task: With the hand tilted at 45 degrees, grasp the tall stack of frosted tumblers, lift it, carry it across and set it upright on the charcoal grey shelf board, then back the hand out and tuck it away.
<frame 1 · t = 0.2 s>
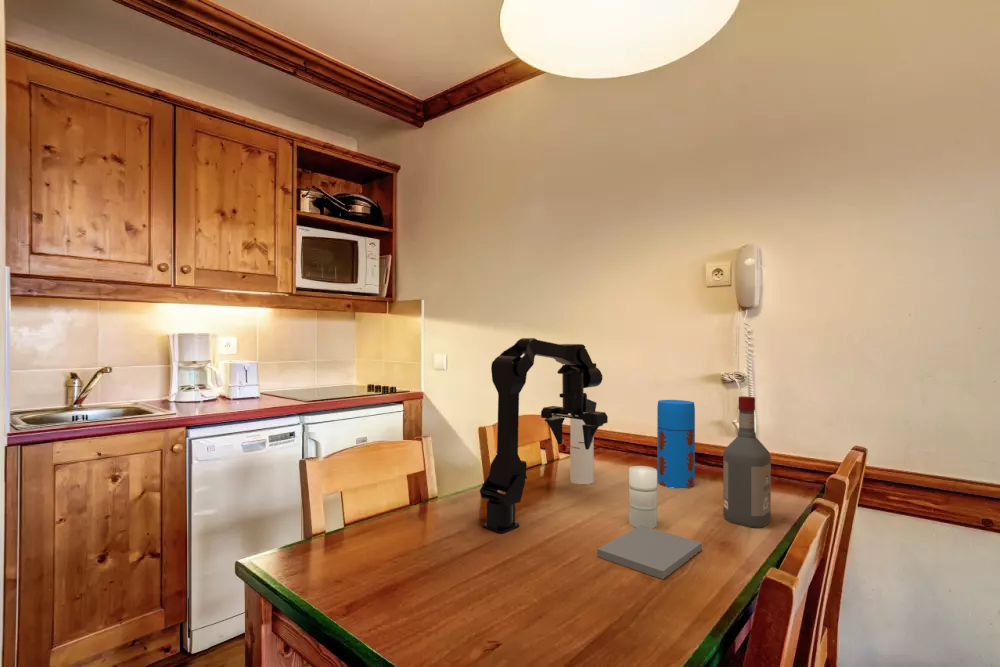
hand: (573, 446, 137), 15 cm above the table, tool pointing down, fingers open, 9 cm apart
liquor: (746, 521, 122), on the table
tumbler stack: (642, 524, 119), on the table
thermos: (675, 484, 153), on the table
cylindrical container: (581, 481, 155), on the table
shelf board: (650, 553, 103), on the table
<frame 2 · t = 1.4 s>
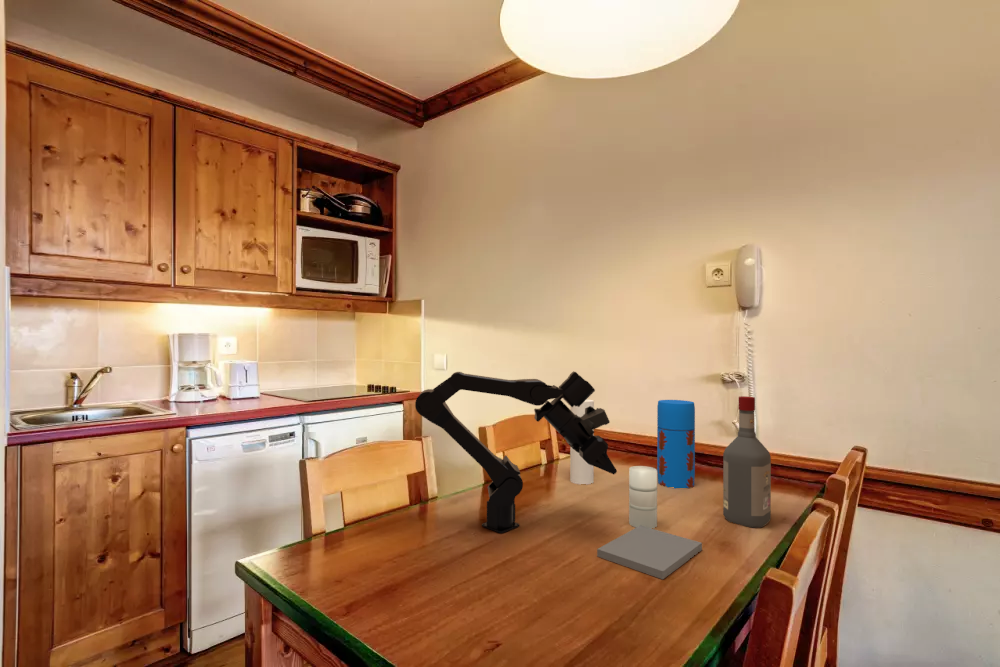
hand: (609, 467, 119), 13 cm above the table, tool tilted 45°, fingers open, 9 cm apart
nothing on the table moved.
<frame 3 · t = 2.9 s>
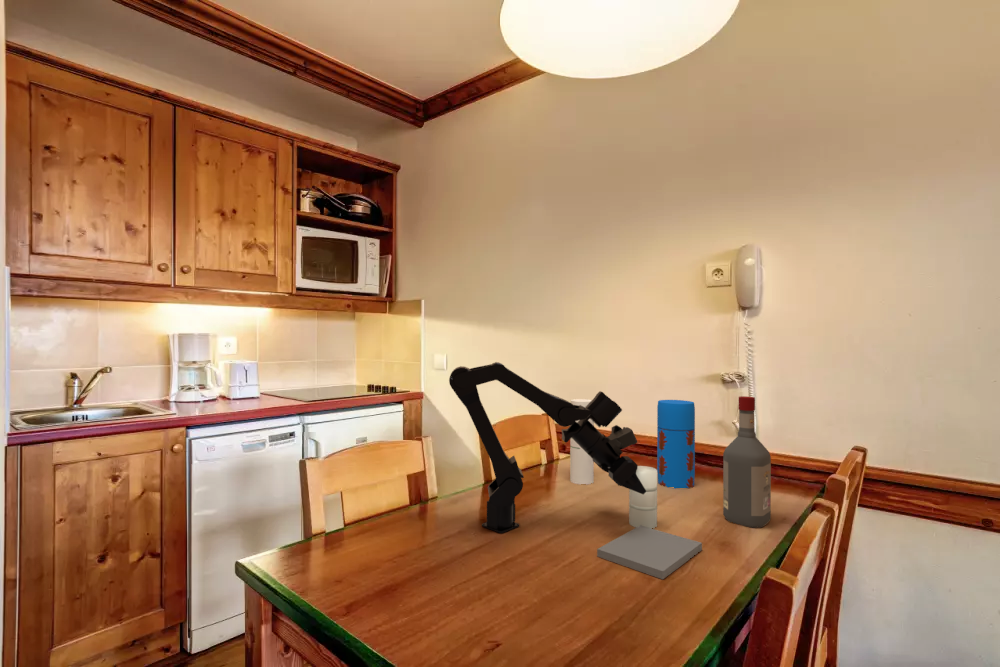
hand: (637, 486, 119), 9 cm above the table, tool tilted 45°, fingers open, 9 cm apart
nothing on the table moved.
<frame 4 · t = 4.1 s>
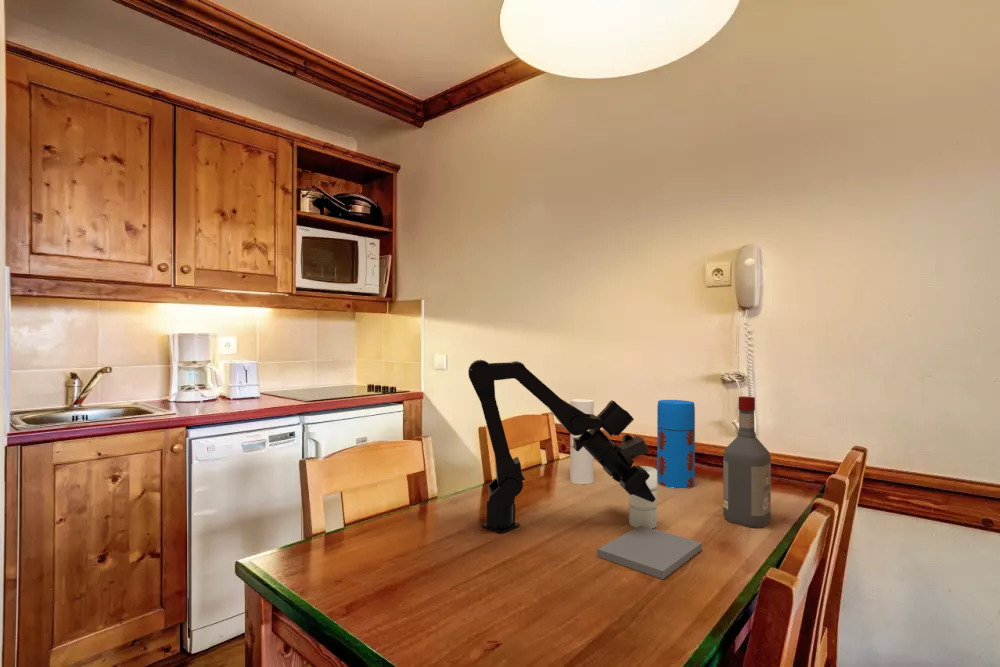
hand: (648, 496, 119), 7 cm above the table, tool tilted 45°, fingers closed on tumbler stack, 6 cm apart
tumbler stack: (642, 524, 119), on the table, touching gripper
everything else where it was.
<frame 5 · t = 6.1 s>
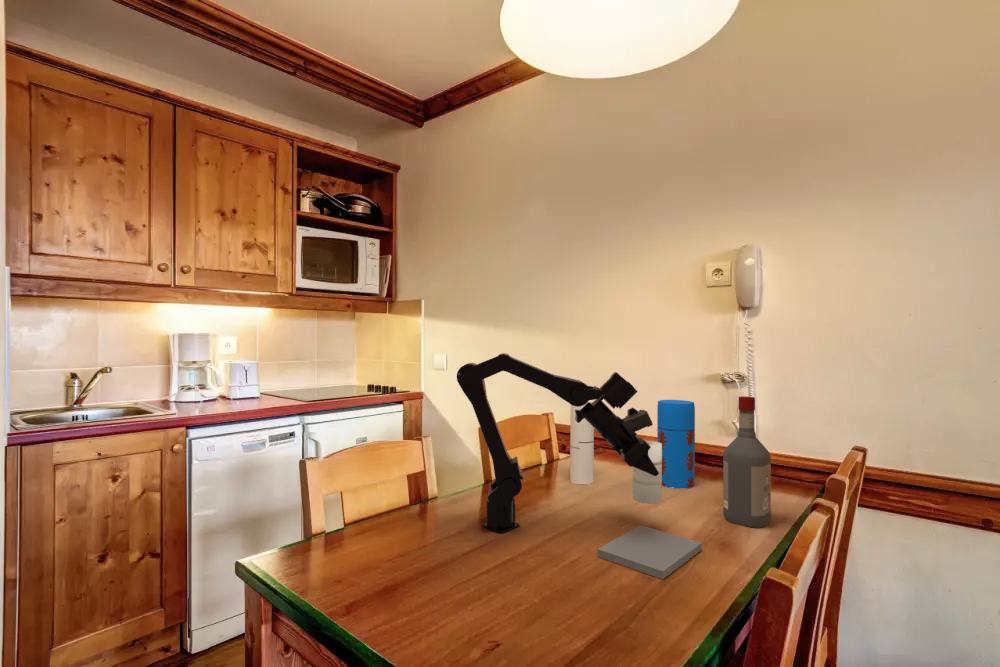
hand: (653, 470, 116), 13 cm above the table, tool tilted 45°, fingers closed on tumbler stack, 6 cm apart
tumbler stack: (647, 499, 116), point 7 cm above the table, touching gripper
everything else where it was.
when the fingers open (9 cm above the table, at t = 8.4 s): tumbler stack drops 1 cm, resting on shelf board.
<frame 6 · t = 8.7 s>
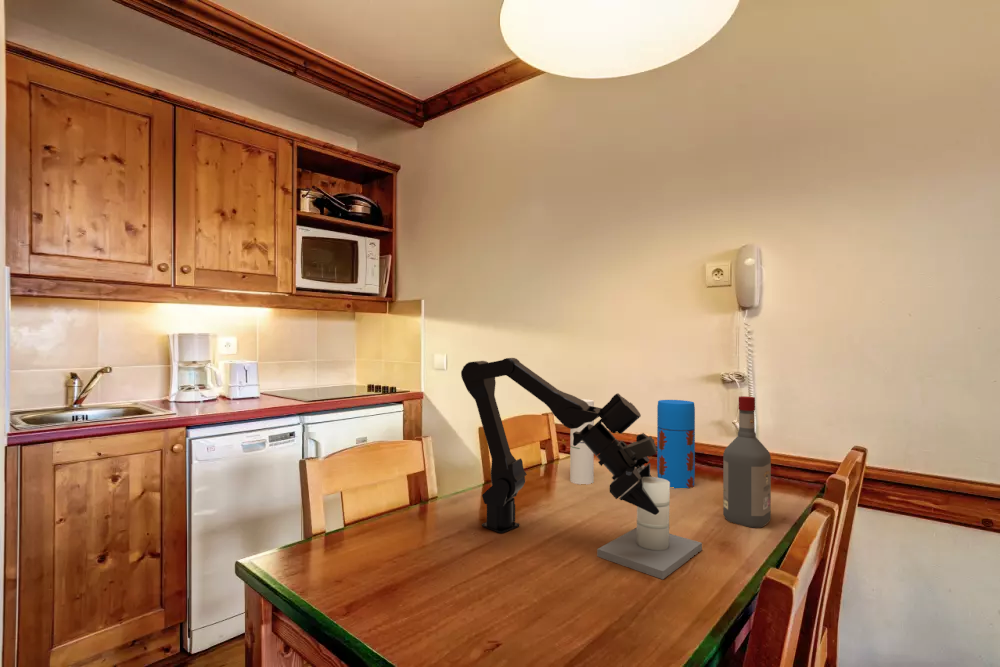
hand: (659, 506, 103), 10 cm above the table, tool tilted 45°, fingers open, 9 cm apart
tumbler stack: (652, 543, 104), point 2 cm above the table, touching shelf board
everything else where it was.
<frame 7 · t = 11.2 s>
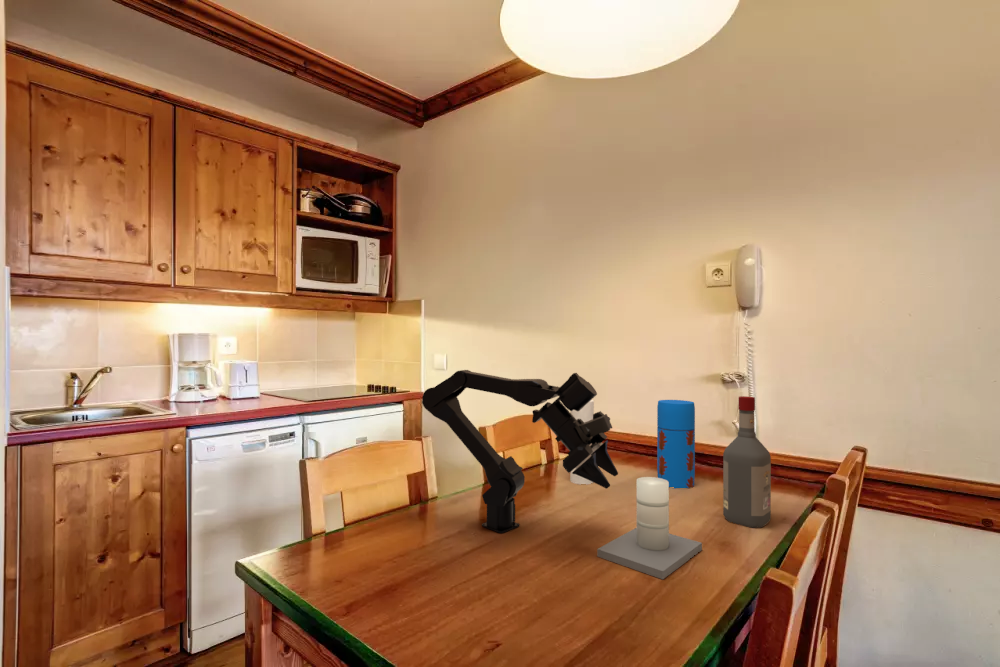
hand: (612, 480, 108), 14 cm above the table, tool tilted 45°, fingers open, 9 cm apart
nothing on the table moved.
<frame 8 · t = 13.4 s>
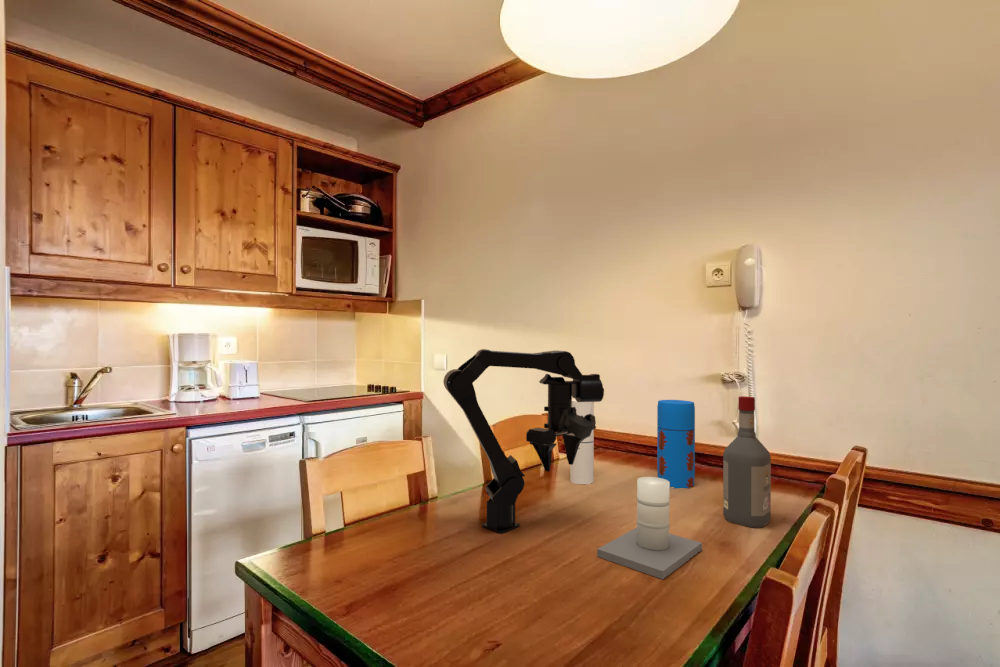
hand: (559, 467, 120), 13 cm above the table, tool pointing down, fingers open, 9 cm apart
nothing on the table moved.
at the end: tumbler stack inside the target area on the shelf board (0.7 cm from its centre), point 1.6 cm above the shelf board's base; tumbler stack tilted 1°; the gripper is holding nothing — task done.
